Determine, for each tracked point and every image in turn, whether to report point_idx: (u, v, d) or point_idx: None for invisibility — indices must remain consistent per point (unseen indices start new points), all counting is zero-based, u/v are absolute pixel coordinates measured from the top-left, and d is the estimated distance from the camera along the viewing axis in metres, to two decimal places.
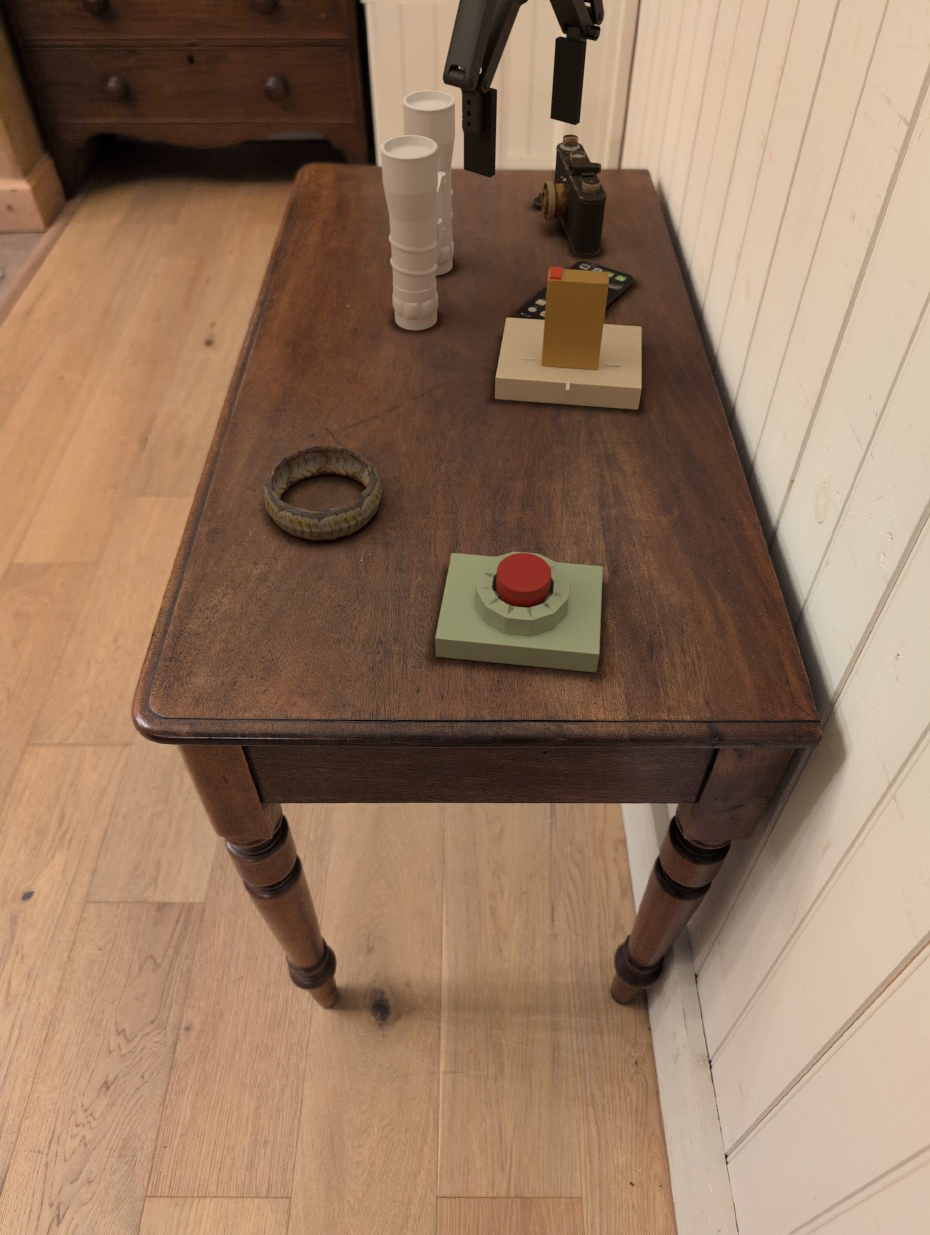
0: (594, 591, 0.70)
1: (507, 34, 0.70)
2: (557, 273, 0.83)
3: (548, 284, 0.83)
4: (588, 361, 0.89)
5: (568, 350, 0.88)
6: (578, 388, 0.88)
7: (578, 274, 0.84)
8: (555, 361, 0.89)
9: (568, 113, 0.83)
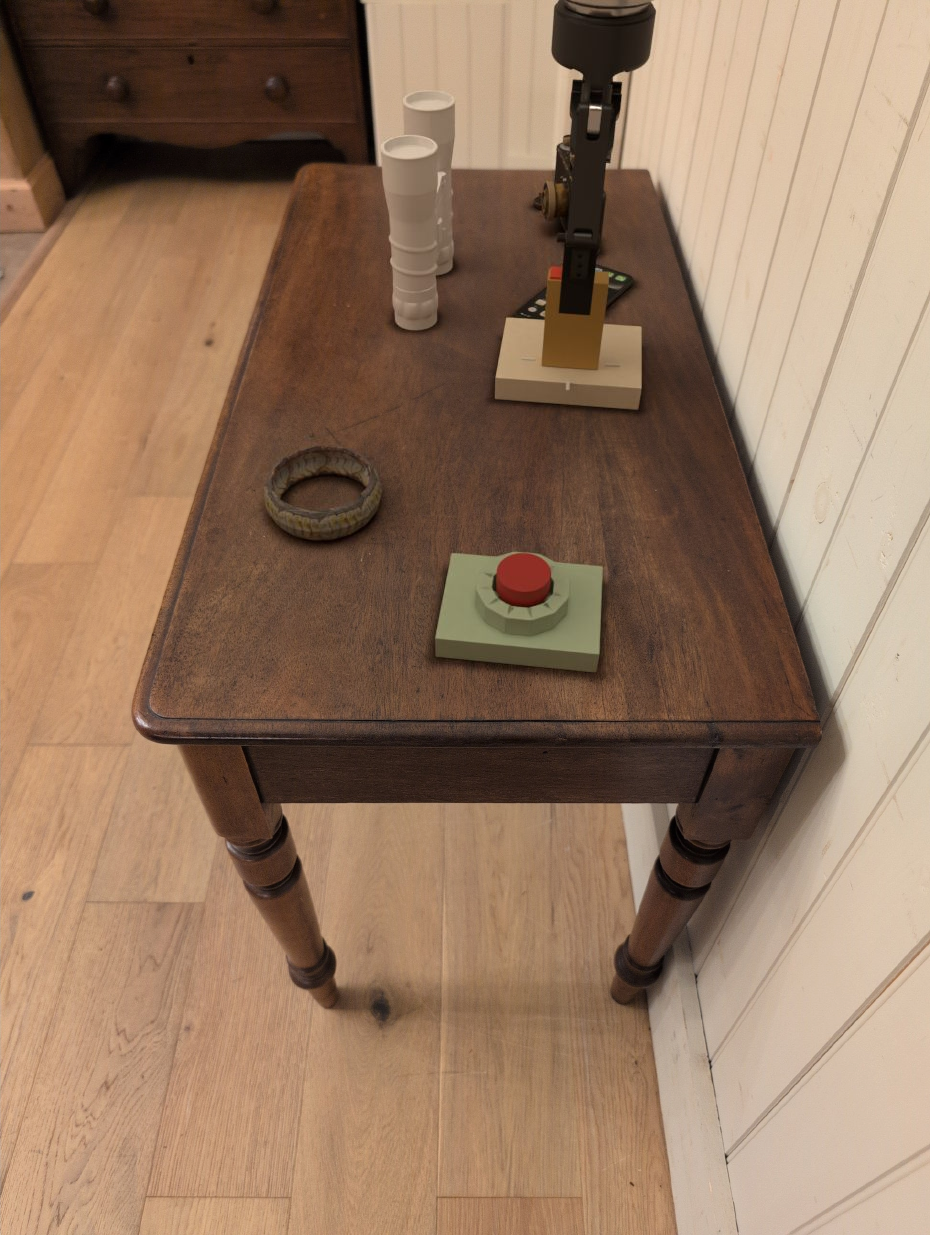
0: (594, 591, 0.70)
1: None
2: (557, 273, 0.83)
3: (548, 284, 0.83)
4: (588, 361, 0.89)
5: (568, 350, 0.88)
6: (578, 388, 0.88)
7: None
8: (555, 361, 0.89)
9: None
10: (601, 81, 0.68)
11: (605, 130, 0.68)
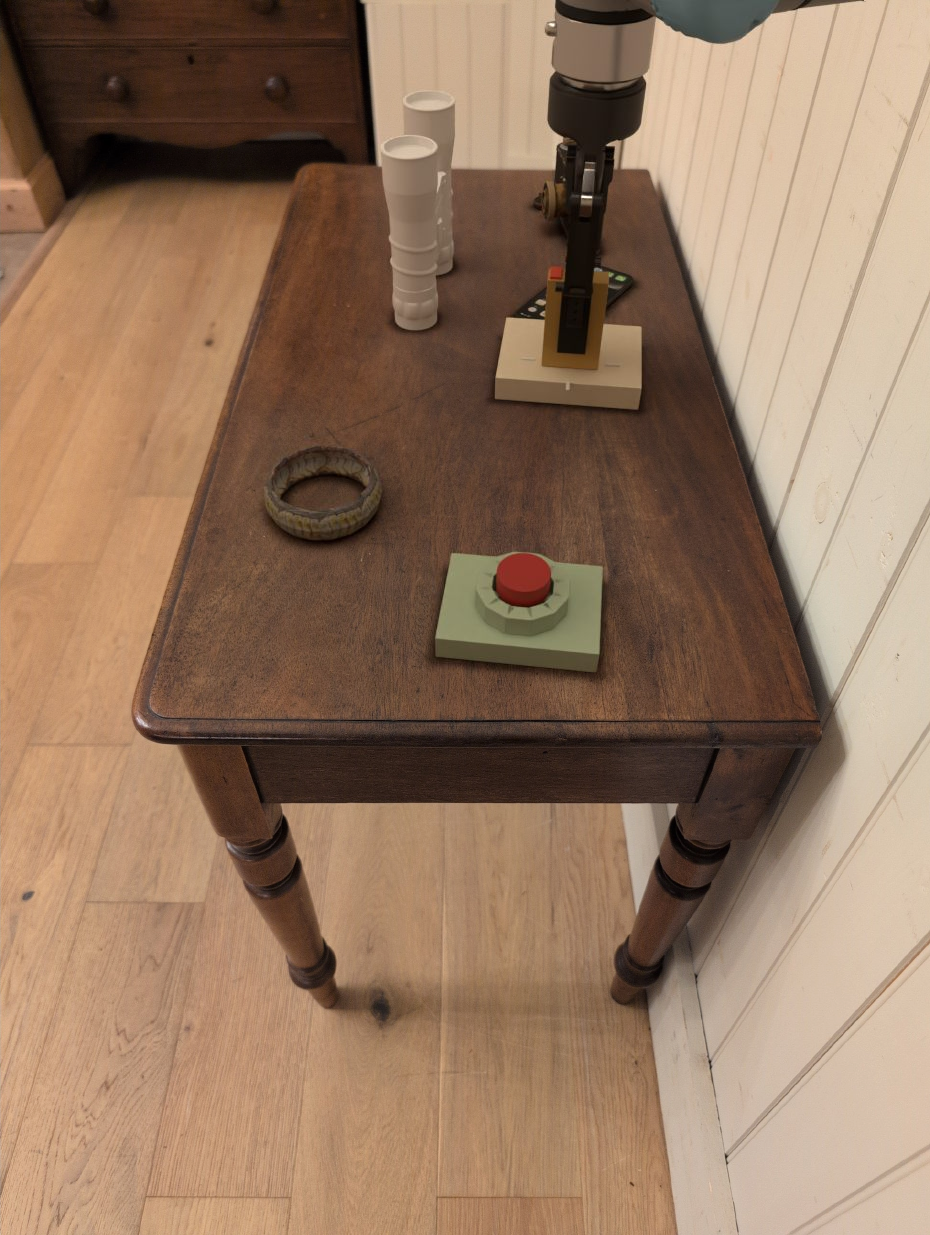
0: (594, 591, 0.70)
1: None
2: (557, 273, 0.83)
3: (548, 284, 0.83)
4: (588, 361, 0.89)
5: None
6: (578, 388, 0.88)
7: None
8: (555, 361, 0.89)
9: None
10: (594, 149, 0.72)
11: (596, 216, 0.73)
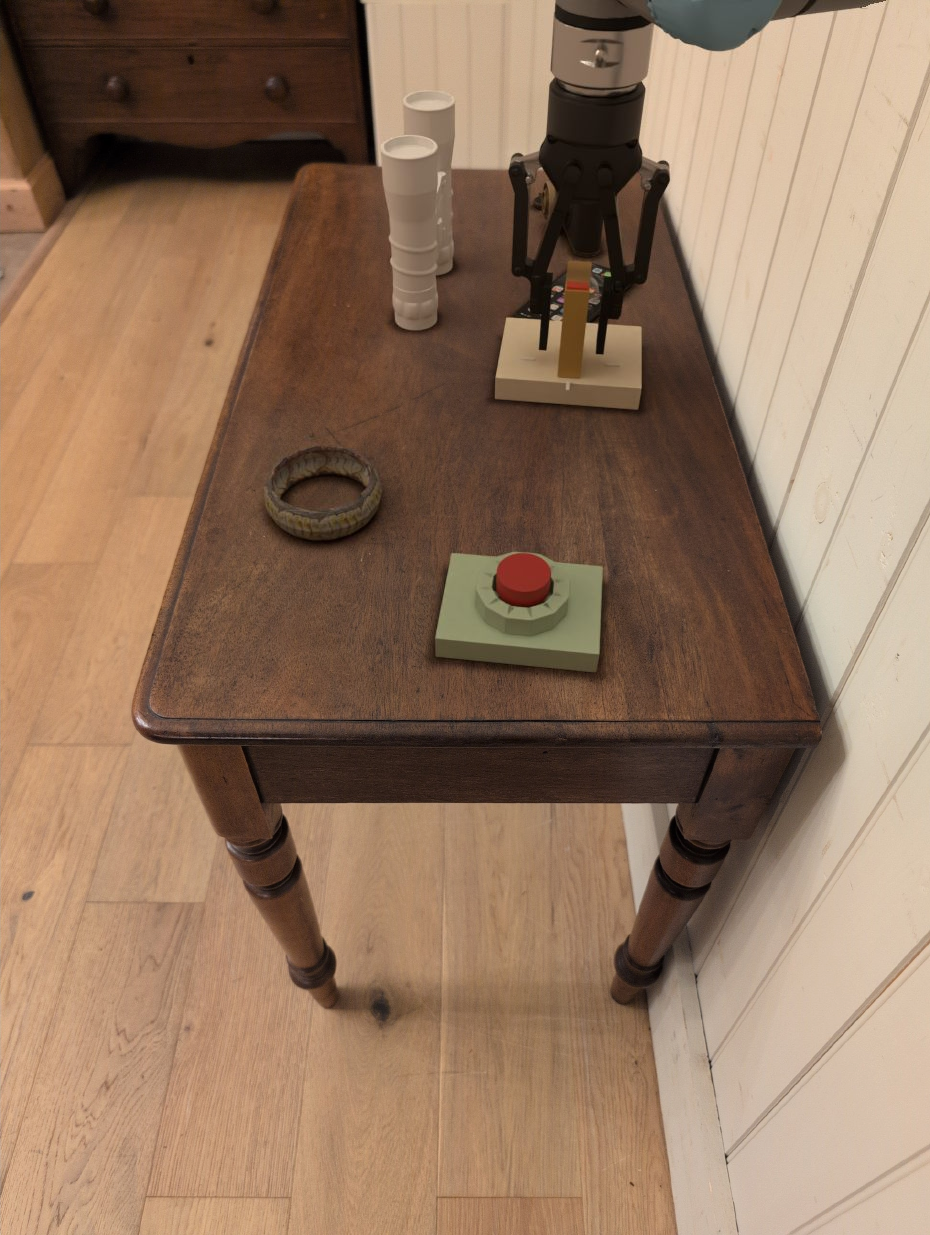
0: (594, 591, 0.70)
1: None
2: (581, 284, 0.82)
3: (588, 295, 0.82)
4: None
5: None
6: (578, 388, 0.88)
7: (576, 275, 0.83)
8: None
9: (548, 332, 0.89)
10: None
11: None
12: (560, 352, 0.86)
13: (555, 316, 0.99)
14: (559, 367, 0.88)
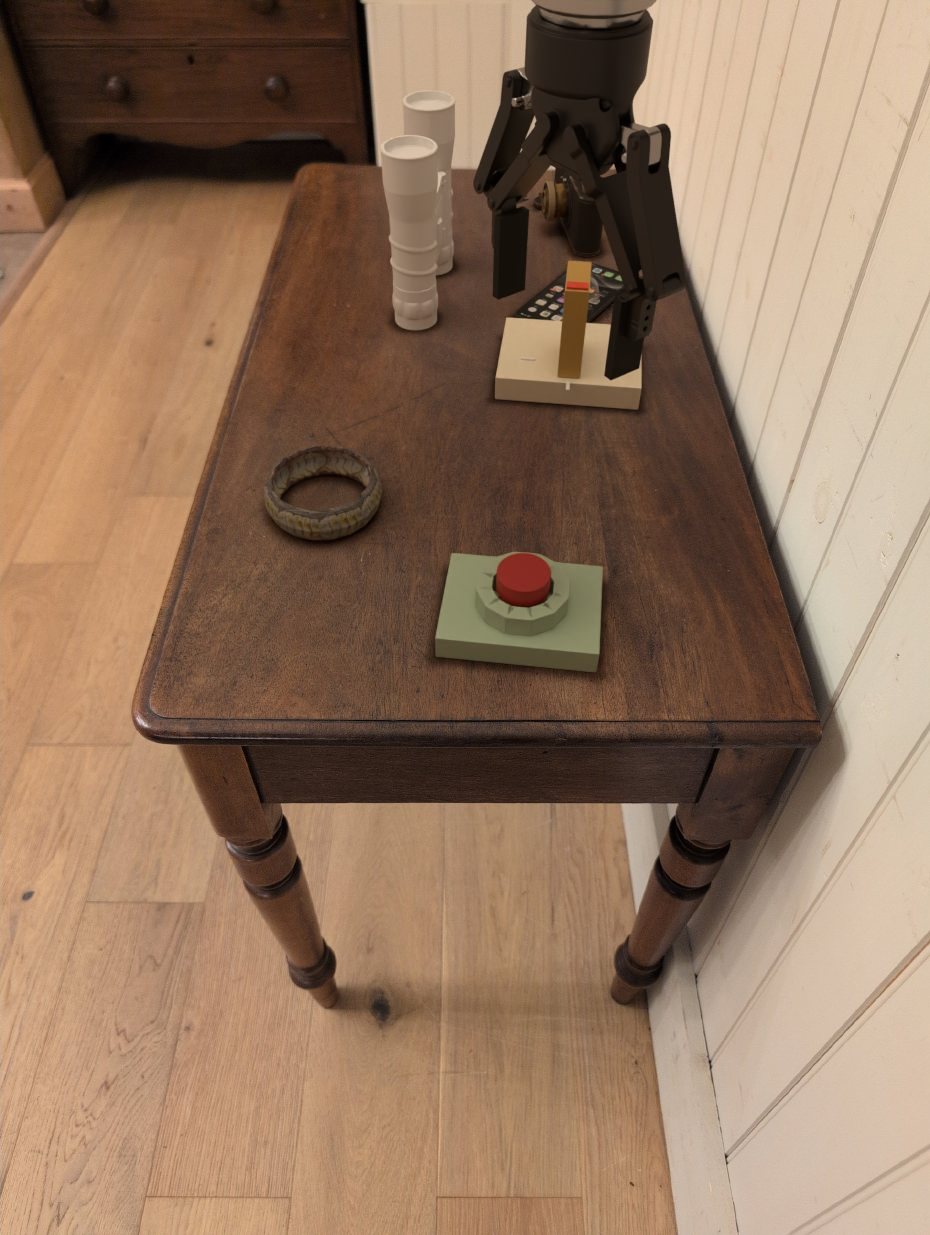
0: (594, 591, 0.70)
1: None
2: (581, 284, 0.82)
3: (588, 295, 0.82)
4: None
5: None
6: (578, 388, 0.88)
7: (576, 275, 0.83)
8: None
9: (517, 283, 0.73)
10: (627, 103, 0.55)
11: (666, 156, 0.56)
12: (560, 352, 0.86)
13: (555, 316, 0.99)
14: (559, 367, 0.88)
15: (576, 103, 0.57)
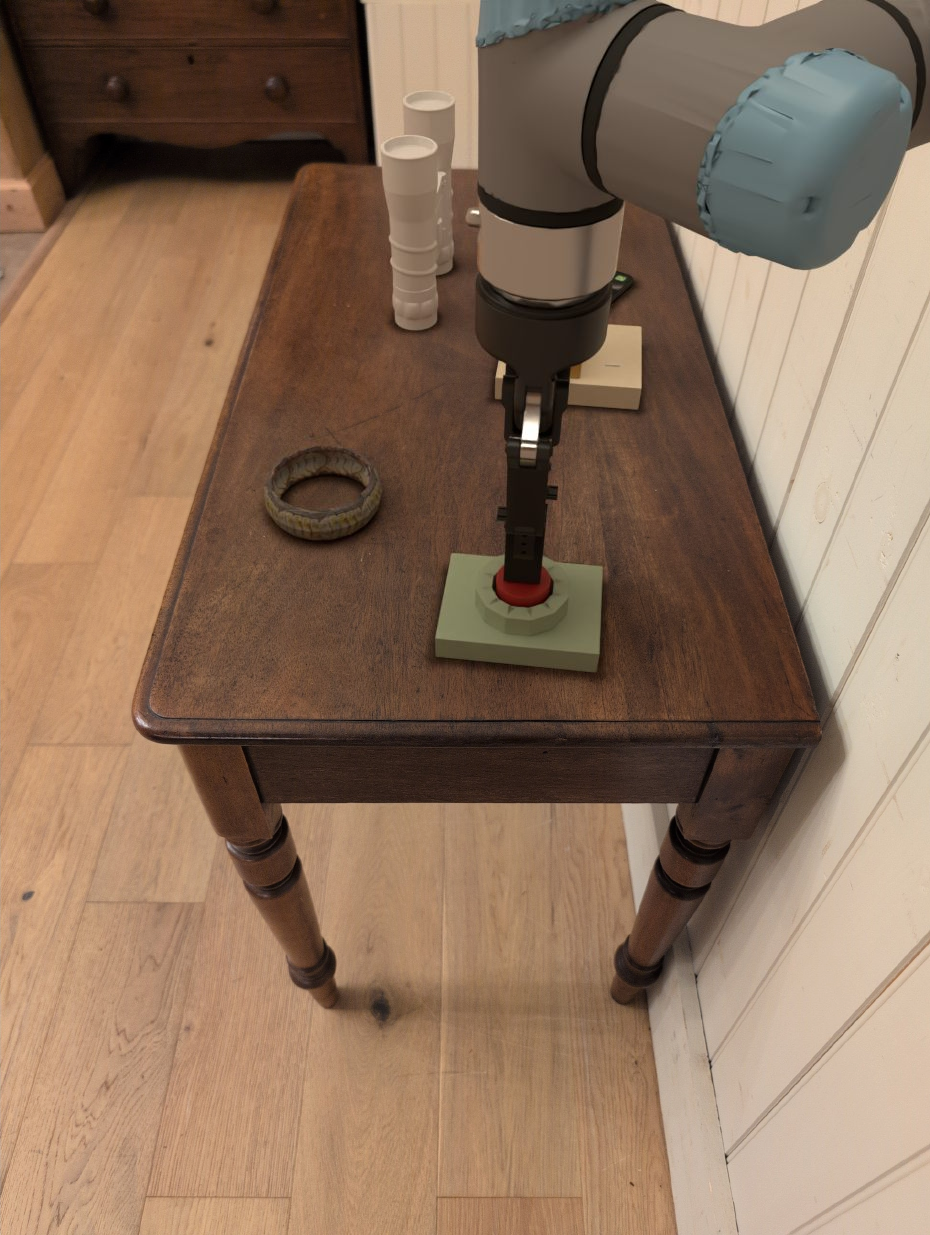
0: (594, 591, 0.70)
1: None
2: None
3: None
4: None
5: None
6: (578, 388, 0.88)
7: None
8: None
9: None
10: (539, 379, 0.51)
11: (543, 467, 0.53)
12: None
13: None
14: None
15: None
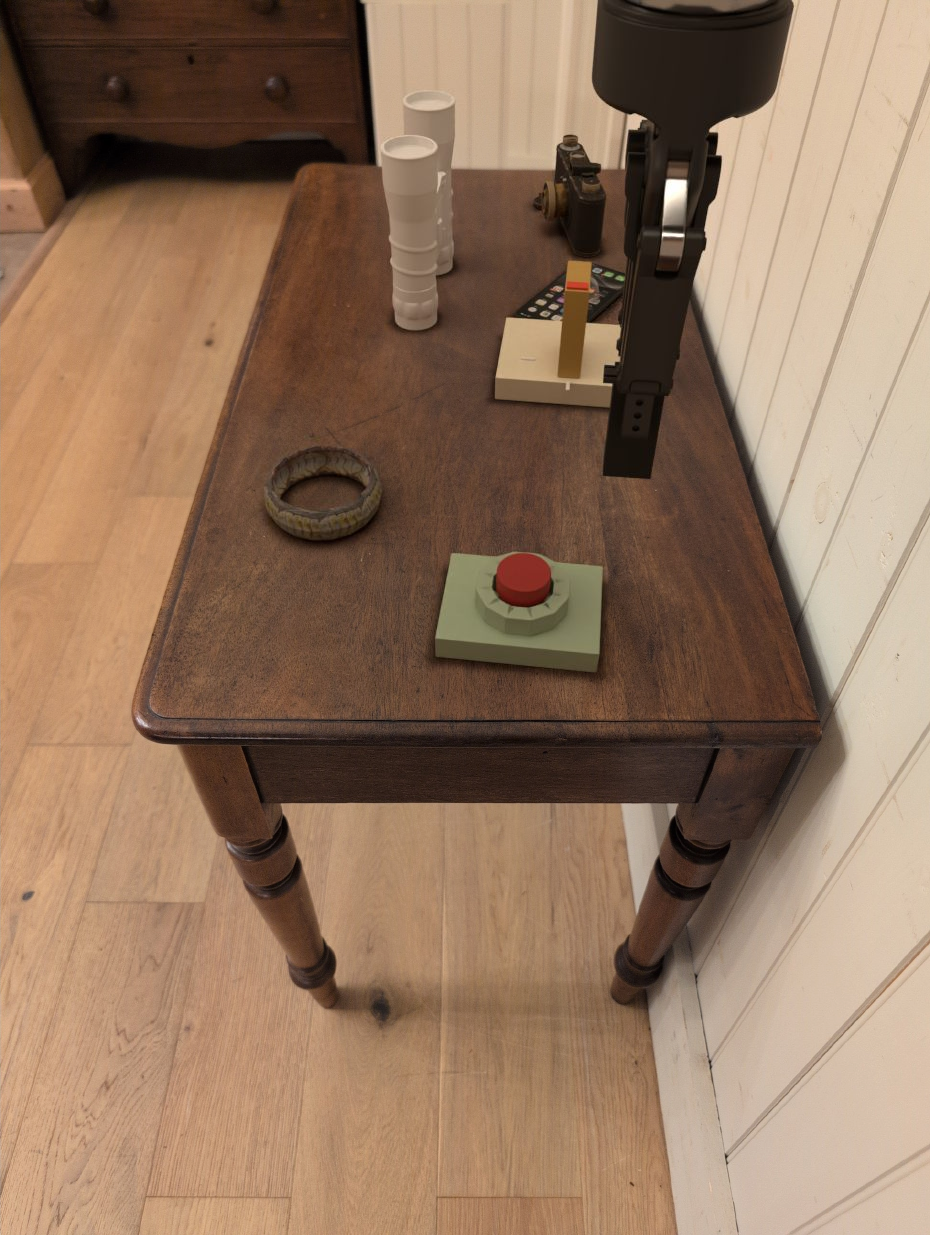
0: (594, 591, 0.70)
1: None
2: (581, 284, 0.82)
3: (588, 295, 0.82)
4: None
5: None
6: (578, 388, 0.88)
7: (576, 275, 0.83)
8: None
9: None
10: (689, 136, 0.36)
11: (689, 271, 0.38)
12: (560, 352, 0.86)
13: (555, 316, 0.99)
14: (559, 367, 0.88)
15: (651, 122, 0.39)
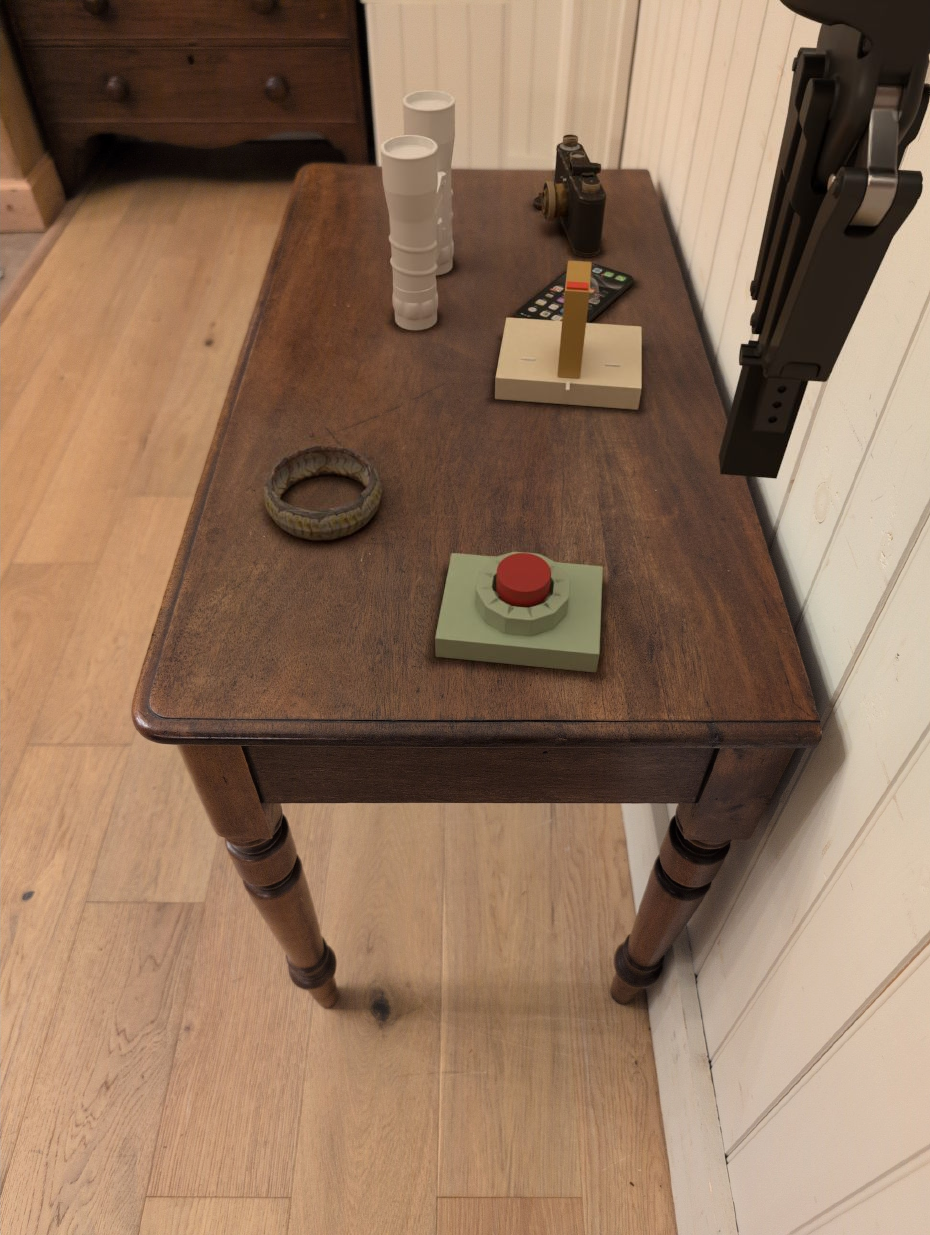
0: (594, 591, 0.70)
1: None
2: (581, 284, 0.82)
3: (588, 295, 0.82)
4: None
5: None
6: (578, 388, 0.88)
7: (576, 275, 0.83)
8: None
9: None
10: (910, 52, 0.28)
11: (892, 226, 0.31)
12: (560, 352, 0.86)
13: (555, 316, 0.99)
14: (559, 367, 0.88)
15: (844, 40, 0.31)
